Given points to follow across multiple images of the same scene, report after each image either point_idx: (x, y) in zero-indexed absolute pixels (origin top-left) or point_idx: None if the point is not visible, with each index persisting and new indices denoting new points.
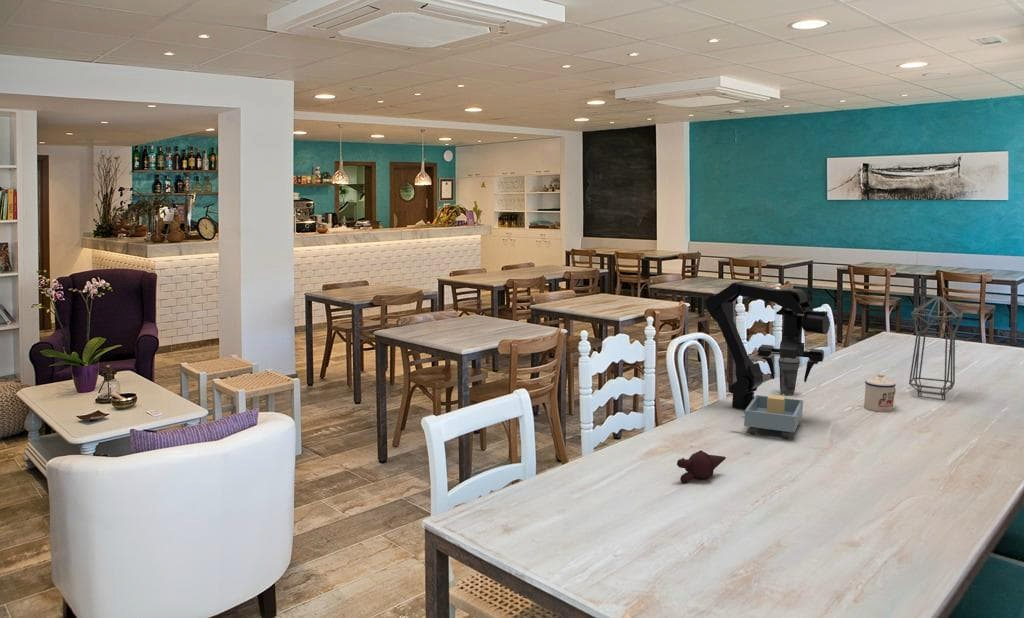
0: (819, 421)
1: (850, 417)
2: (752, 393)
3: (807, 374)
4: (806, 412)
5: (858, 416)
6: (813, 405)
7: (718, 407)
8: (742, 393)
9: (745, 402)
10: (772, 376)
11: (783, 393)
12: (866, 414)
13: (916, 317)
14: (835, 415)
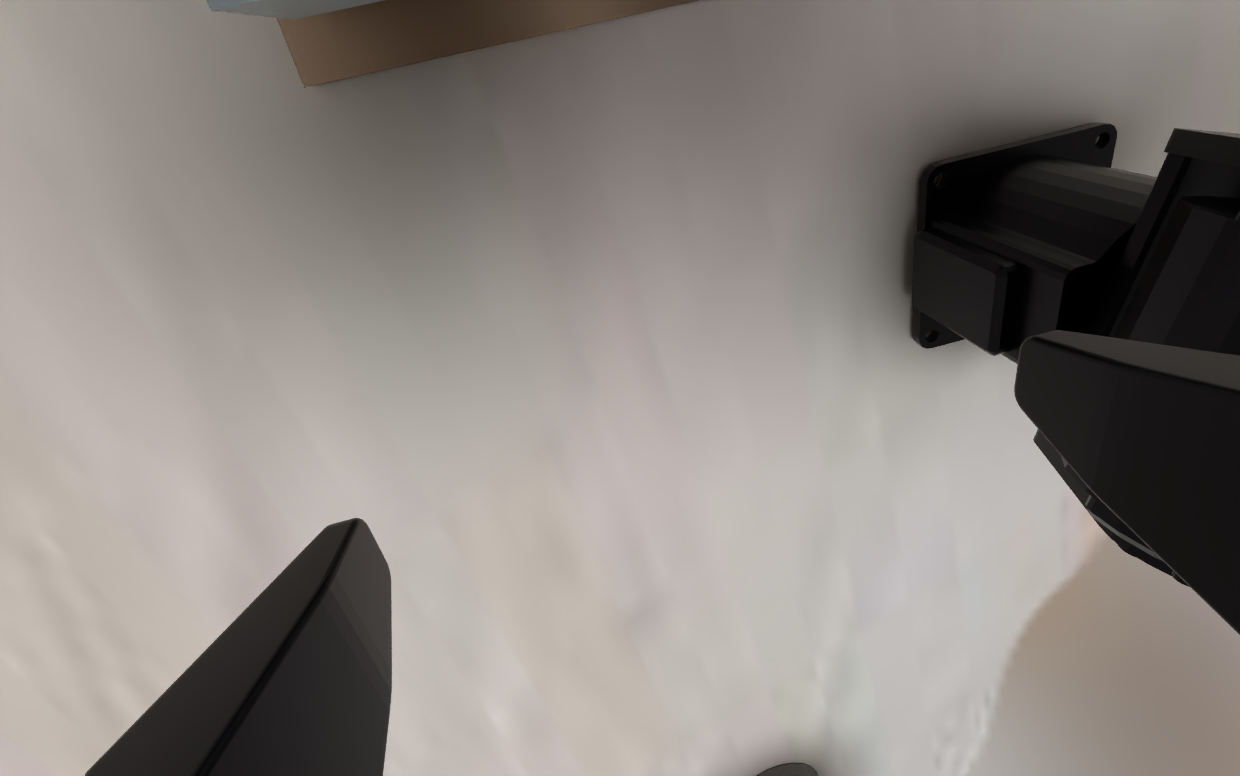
0: (320, 385)
1: (204, 648)
2: (1067, 317)
3: (184, 695)
4: (535, 549)
5: None
6: (565, 712)
7: None
8: (1222, 133)
9: (1061, 194)
10: (1109, 340)
11: (798, 772)
12: None
13: None
14: None
